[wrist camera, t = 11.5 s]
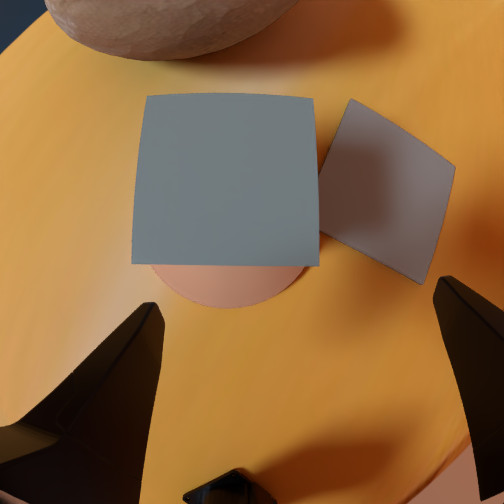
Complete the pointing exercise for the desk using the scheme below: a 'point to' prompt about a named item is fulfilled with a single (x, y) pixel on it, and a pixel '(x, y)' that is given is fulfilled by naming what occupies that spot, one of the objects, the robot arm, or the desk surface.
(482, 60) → the desk surface
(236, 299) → the saucer
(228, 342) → the desk surface
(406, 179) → the rubber mat
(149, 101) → the grey blue block
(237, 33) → the ceramic bowl
